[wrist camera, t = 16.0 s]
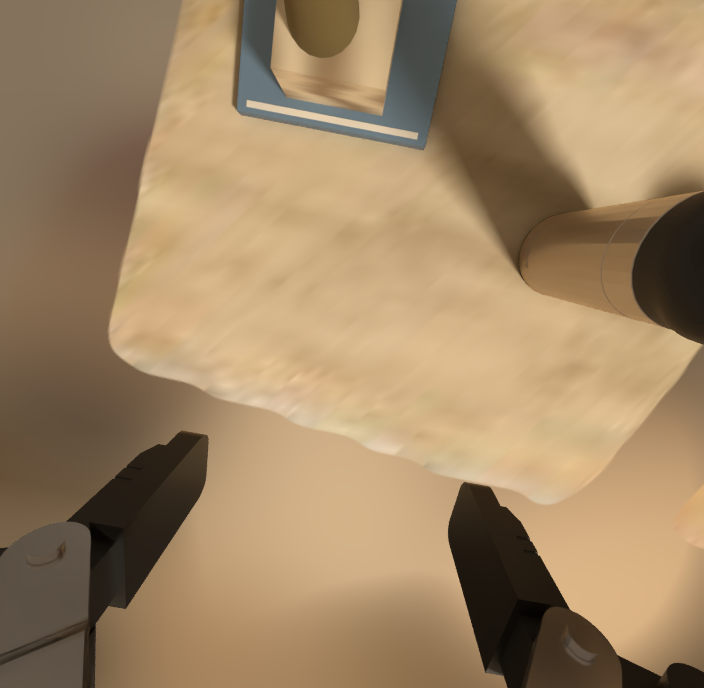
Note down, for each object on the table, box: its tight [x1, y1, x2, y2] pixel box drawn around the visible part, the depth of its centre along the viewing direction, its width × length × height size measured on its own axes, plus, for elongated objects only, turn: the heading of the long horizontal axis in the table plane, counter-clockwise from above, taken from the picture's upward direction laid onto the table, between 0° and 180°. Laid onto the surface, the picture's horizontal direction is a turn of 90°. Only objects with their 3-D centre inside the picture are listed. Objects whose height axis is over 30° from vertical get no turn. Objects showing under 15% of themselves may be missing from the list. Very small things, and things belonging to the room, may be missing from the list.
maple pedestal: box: [270, 0, 403, 116], centre depth 30 cm, size 10×10×6 cm
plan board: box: [237, 0, 457, 150], centre depth 33 cm, size 20×14×1 cm
